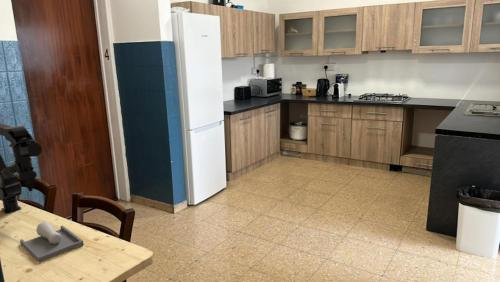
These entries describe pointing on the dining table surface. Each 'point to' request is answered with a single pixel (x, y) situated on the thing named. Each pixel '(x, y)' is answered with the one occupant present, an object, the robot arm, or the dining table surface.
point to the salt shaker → (48, 232)
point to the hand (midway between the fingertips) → (30, 191)
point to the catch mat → (52, 245)
